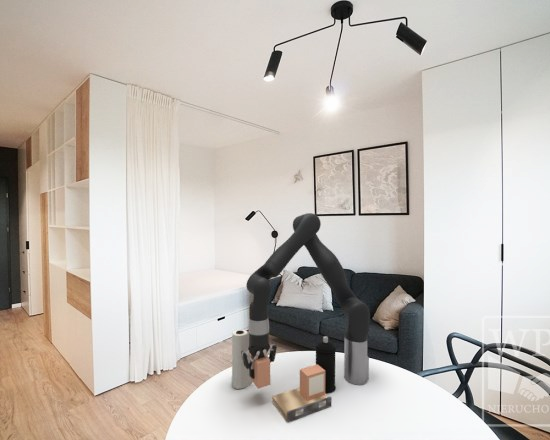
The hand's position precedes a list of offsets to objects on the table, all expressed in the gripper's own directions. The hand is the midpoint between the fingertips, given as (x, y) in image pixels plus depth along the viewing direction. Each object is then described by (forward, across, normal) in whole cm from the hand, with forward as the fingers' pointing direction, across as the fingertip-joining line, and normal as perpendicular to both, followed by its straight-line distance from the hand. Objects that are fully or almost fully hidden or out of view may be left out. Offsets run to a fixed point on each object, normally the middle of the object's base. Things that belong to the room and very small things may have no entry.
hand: (259, 375), depth 101 cm
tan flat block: (+9, -12, +9) cm, 18 cm away
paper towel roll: (+9, +3, -12) cm, 15 cm away
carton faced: (+7, -18, +9) cm, 21 cm away
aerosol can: (+10, -26, +5) cm, 29 cm away
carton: (+2, 0, 0) cm, 2 cm away
